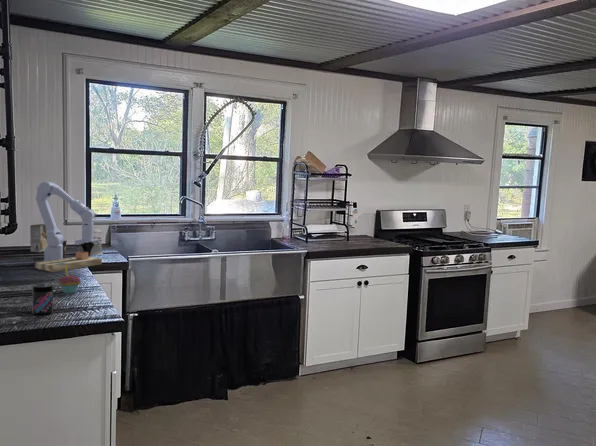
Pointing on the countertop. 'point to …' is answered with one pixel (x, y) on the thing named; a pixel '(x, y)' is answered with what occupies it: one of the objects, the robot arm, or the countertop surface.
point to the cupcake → (69, 282)
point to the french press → (99, 248)
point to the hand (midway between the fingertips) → (87, 256)
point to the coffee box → (38, 237)
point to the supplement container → (42, 299)
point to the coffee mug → (64, 247)
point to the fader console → (67, 264)
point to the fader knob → (82, 255)
